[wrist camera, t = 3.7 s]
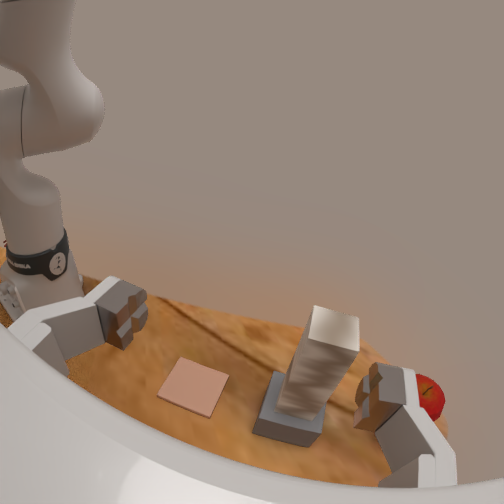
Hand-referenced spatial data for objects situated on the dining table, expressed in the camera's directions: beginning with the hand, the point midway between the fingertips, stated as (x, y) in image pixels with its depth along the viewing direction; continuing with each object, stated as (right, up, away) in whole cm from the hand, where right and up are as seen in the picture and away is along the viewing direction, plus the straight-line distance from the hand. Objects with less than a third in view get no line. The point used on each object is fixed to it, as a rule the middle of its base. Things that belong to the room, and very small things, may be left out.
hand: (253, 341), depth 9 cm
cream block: (+6, -16, +24) cm, 30 cm away
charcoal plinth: (+5, -20, +27) cm, 34 cm away
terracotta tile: (-8, -17, +29) cm, 34 cm away
